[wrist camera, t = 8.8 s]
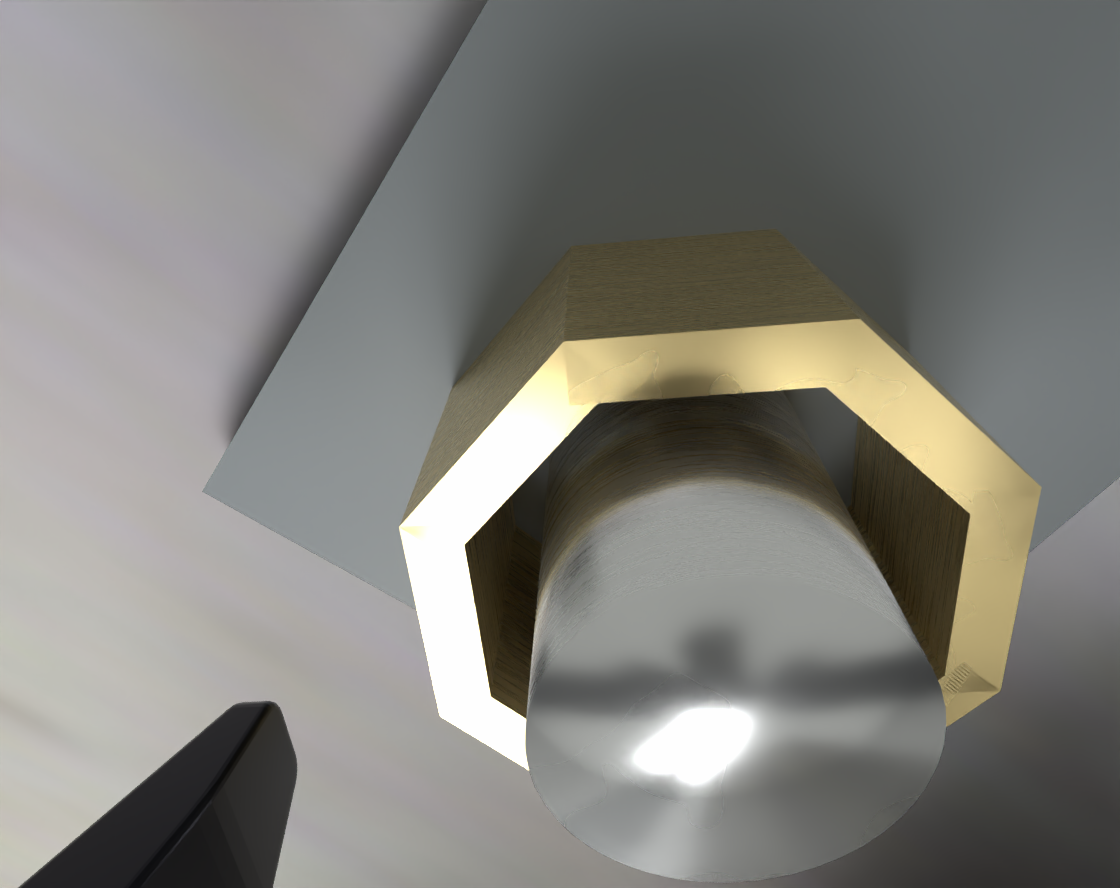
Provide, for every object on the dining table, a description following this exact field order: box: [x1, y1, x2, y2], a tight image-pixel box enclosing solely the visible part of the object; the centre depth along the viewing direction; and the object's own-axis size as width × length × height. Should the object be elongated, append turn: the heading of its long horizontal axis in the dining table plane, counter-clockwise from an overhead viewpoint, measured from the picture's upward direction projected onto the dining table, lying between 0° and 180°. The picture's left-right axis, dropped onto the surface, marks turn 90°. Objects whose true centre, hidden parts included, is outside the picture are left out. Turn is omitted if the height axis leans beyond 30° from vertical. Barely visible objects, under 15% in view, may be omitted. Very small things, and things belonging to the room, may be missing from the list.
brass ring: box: [399, 229, 1042, 770], centre depth 11 cm, size 7×7×4 cm
